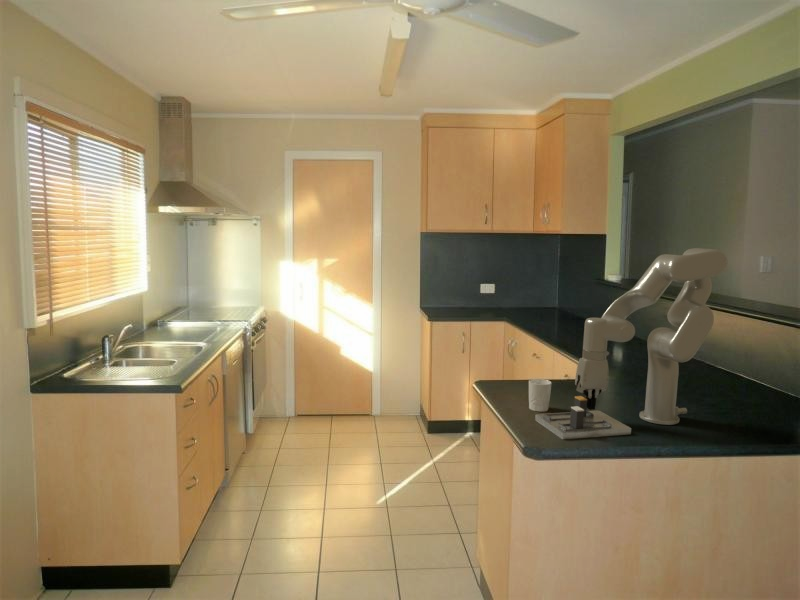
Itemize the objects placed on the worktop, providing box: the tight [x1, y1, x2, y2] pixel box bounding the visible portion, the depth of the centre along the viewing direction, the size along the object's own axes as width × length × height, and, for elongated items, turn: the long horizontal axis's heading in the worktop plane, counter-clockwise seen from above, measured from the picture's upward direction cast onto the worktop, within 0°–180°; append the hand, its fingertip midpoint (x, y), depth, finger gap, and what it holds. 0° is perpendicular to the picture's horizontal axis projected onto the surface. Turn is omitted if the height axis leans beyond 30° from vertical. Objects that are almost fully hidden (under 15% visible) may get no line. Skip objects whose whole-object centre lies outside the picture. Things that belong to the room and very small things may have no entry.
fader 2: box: [570, 406, 584, 429], centre depth 185 cm, size 2×4×6 cm
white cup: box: [528, 378, 552, 413], centre depth 209 cm, size 8×8×10 cm
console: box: [534, 409, 632, 440], centre depth 191 cm, size 24×18×3 cm
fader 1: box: [573, 395, 588, 417], centre depth 196 cm, size 2×4×6 cm
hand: (590, 408), depth 197 cm, fingers closed
